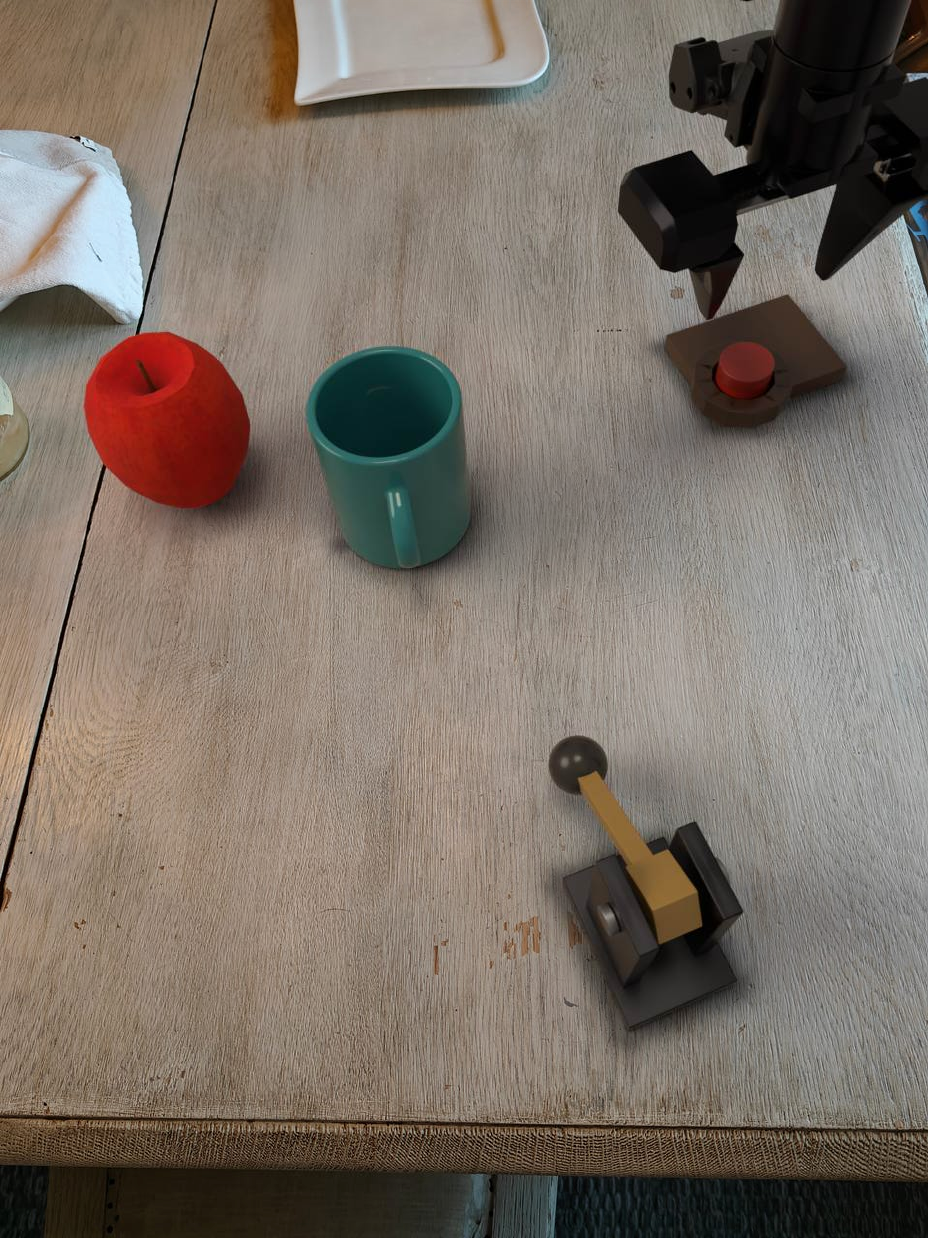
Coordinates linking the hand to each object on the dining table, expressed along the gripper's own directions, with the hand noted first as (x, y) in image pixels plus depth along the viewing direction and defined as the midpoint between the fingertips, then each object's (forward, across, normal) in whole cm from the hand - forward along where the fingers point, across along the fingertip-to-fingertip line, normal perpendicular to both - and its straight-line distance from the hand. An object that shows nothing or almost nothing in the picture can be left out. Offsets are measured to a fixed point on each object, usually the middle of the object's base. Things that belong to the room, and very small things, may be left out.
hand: (763, 295), depth 59 cm
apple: (+10, +37, -9) cm, 39 cm away
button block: (+10, -3, -2) cm, 11 cm away
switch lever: (+6, +22, +26) cm, 35 cm away
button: (+7, 0, 0) cm, 7 cm away
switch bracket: (+10, +22, +30) cm, 38 cm away
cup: (+10, +25, +1) cm, 27 cm away
